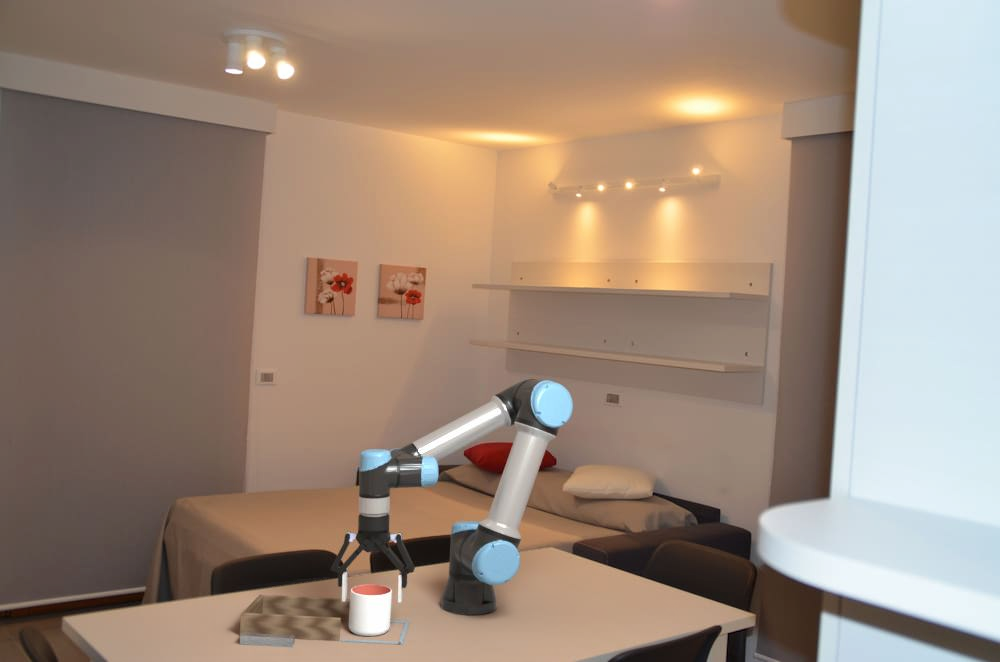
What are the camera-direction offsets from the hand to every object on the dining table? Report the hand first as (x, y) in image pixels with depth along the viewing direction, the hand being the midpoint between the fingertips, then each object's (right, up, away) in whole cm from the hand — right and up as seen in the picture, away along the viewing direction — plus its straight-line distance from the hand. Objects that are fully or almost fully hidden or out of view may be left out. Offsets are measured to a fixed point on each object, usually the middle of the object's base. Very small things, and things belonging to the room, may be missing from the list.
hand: (372, 600), depth 212 cm
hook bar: (-22, -6, -14) cm, 27 cm away
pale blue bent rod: (+1, -7, 0) cm, 7 cm away
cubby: (-18, -6, -1) cm, 19 cm away
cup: (-1, -7, 0) cm, 8 cm away
